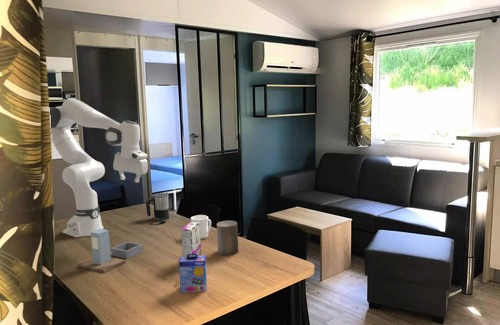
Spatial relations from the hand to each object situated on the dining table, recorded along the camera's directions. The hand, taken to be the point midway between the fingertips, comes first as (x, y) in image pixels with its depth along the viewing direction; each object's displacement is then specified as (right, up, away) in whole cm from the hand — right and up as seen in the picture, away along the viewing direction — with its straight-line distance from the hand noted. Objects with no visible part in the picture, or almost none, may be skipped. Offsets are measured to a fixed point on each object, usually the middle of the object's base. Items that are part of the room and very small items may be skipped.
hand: (129, 181), depth 205 cm
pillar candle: (+50, -33, -14) cm, 62 cm away
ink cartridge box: (+39, -38, -52) cm, 76 cm away
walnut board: (-4, -36, -26) cm, 44 cm away
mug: (+35, -30, +9) cm, 47 cm away
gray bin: (+3, -34, -13) cm, 36 cm away
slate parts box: (-4, -34, -26) cm, 43 cm away
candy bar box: (+35, -35, -25) cm, 55 cm away
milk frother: (+7, -26, +42) cm, 50 cm away
